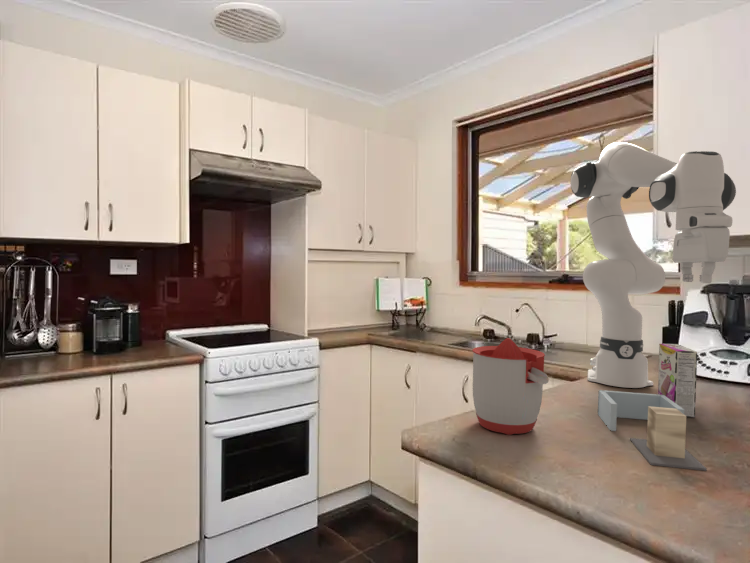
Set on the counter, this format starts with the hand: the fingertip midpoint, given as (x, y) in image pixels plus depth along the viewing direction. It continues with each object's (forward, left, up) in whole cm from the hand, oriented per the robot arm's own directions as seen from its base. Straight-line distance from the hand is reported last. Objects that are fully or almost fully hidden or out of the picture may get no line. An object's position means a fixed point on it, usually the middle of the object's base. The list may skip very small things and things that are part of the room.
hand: (696, 282), depth 108 cm
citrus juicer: (+14, -41, -33) cm, 55 cm away
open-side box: (+3, -12, -33) cm, 35 cm away
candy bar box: (-12, +1, -33) cm, 35 cm away
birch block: (+21, -12, -33) cm, 41 cm away
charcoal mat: (+21, -12, -33) cm, 41 cm away
